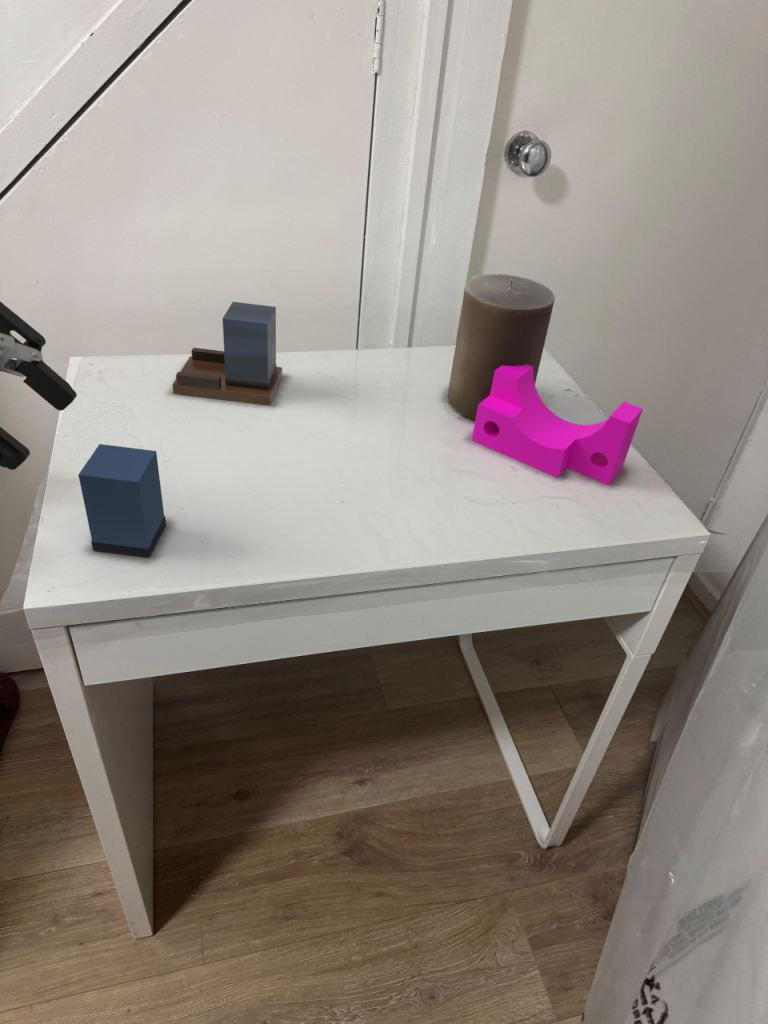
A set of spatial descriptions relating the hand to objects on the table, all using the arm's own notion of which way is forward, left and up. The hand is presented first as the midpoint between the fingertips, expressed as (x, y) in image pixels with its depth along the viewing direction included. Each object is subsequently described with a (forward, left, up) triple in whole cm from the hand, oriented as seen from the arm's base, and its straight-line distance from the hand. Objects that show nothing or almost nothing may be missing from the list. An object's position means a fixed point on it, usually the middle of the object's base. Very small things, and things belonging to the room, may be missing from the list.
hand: (47, 431), depth 60 cm
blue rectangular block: (+5, -1, -10) cm, 11 cm away
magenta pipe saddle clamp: (+46, +13, -10) cm, 49 cm away
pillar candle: (+42, +23, -10) cm, 49 cm away
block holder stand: (+12, +26, -10) cm, 30 cm away
